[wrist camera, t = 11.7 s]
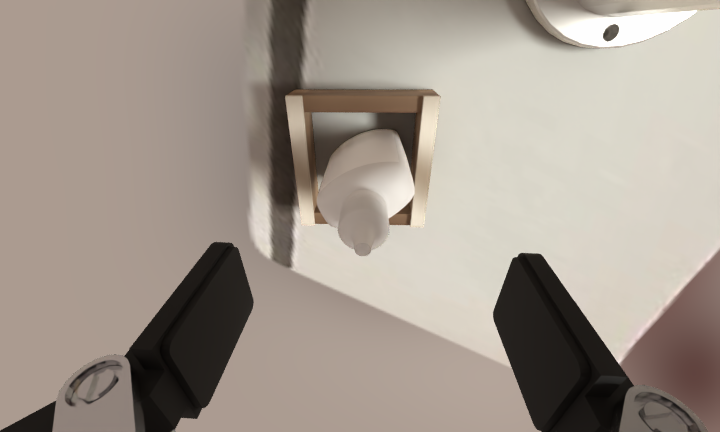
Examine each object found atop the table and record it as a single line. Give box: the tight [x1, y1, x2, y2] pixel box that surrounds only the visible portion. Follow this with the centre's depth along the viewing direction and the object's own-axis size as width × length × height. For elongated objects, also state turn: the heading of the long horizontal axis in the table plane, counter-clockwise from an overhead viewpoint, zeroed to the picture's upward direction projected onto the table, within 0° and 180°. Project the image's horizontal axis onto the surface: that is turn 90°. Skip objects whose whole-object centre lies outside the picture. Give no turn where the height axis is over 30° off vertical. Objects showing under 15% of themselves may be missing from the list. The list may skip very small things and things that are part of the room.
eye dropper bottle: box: [317, 129, 415, 256], centre depth 18 cm, size 4×6×12 cm
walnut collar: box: [285, 89, 441, 227], centre depth 22 cm, size 10×10×3 cm
